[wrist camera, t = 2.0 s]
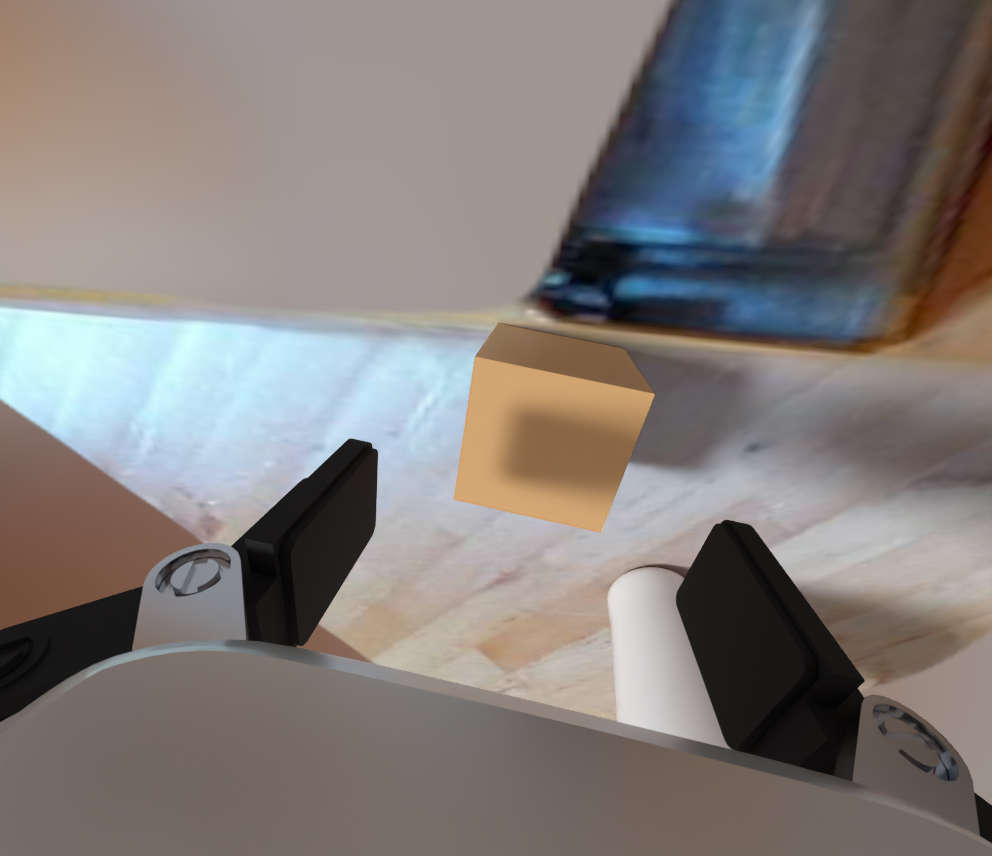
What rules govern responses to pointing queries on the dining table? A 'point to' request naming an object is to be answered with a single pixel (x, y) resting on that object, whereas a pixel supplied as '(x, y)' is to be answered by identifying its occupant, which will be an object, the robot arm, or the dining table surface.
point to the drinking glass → (657, 659)
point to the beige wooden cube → (550, 426)
